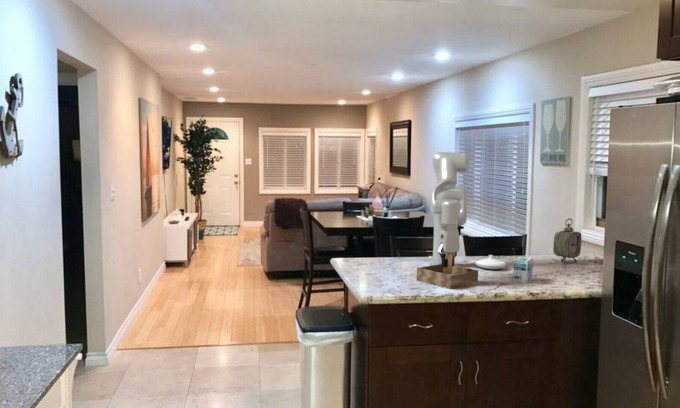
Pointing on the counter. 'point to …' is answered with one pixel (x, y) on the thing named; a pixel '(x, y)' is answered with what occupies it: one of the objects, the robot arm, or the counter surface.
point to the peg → (449, 268)
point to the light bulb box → (523, 269)
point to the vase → (490, 263)
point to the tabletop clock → (567, 243)
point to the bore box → (447, 276)
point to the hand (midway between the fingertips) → (447, 266)
